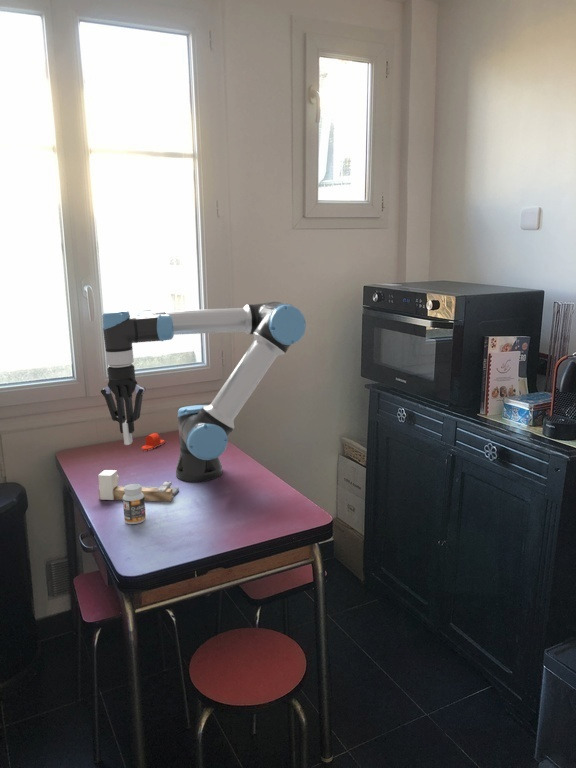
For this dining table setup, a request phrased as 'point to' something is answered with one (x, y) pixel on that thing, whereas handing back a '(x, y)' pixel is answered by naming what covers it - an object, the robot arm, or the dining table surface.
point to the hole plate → (174, 489)
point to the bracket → (152, 441)
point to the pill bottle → (134, 504)
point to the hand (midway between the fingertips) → (128, 443)
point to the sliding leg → (107, 484)
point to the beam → (145, 494)
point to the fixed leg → (165, 486)
